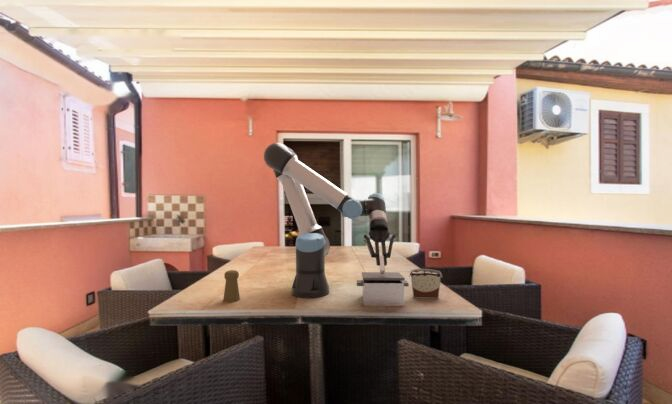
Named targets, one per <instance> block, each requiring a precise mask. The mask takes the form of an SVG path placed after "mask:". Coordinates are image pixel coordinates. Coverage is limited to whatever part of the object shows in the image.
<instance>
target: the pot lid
mask: <svg viewBox="0 0 672 404" xmlns="http://www.w3.org/2000/svg"><path fill="white" fill-rule="evenodd" d="M361 278H362V280H405V278H406V277H404V276H403V275H402V273H400V272H398V271H396V272H394V271H393V272H391V271H390V272H386V271H385V273H384V274H380V271H378V272H374V271H373V272H372V271H371V272H369V271H367V272H365V271H362V272H361Z"/></svg>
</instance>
